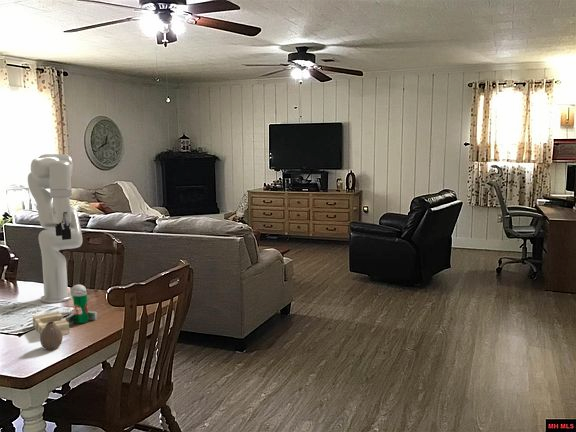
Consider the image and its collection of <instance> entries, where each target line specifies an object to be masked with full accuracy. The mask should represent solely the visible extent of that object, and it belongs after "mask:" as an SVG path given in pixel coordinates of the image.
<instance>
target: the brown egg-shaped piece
mask: <svg viewBox="0 0 576 432" xmlns="http://www.w3.org/2000/svg"><path fill="white" fill-rule="evenodd" d="M63 336H64V335H62V332H61V330H60V328H59V327H58V326H56V324H55V323H54V322H48V323H47V324H46V326H45V328H44V329H43V330H42V332H41V335H39V341H40V345H41V347H42V348H43V349H44V350H47V351H54V350H56V349H58V348H60V346H61V345H62V343H63Z"/></svg>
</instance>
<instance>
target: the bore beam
mask: <svg viewBox="0 0 576 432" xmlns="http://www.w3.org/2000/svg"><path fill="white" fill-rule="evenodd" d="M48 322H54V323H55V324H56V326H58V327H59V328H60V330H61V332H62V336H65V335H69V334H70V325H69V323H68V322H67V321H66V317H64V316H63V315H62V314H61V312H60V311H54V312H48V313H42V314H37V315H32V324H33V325H32V327H33V328H34V329H35V330H36V332H37V334H38V335H39V336H40V335H41V332H42V330H43V329H44V328H45V326H46V324H47V323H48Z"/></svg>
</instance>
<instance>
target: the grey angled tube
mask: <svg viewBox="0 0 576 432" xmlns="http://www.w3.org/2000/svg"><path fill="white" fill-rule="evenodd" d="M88 318H89V320H88V321H97V320H98V311H90V310H88ZM65 320H66V321H67V322H68V323H69V326H71V325H72V324H74V323H75V321H74V309H73V310H69V315H67V316H66V317H65Z"/></svg>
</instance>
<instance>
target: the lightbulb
mask: <svg viewBox="0 0 576 432" xmlns="http://www.w3.org/2000/svg"><path fill="white" fill-rule="evenodd" d="M76 291H86V292H87V288H86V287H85V286H84V285H83V284H75V285H73V286H72V287H71V289H70V292H69V293H70V294H71V296H72V298H71V299H73V295H74V292H76Z"/></svg>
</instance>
